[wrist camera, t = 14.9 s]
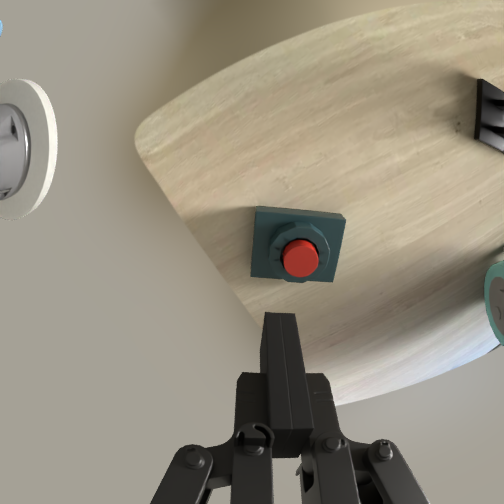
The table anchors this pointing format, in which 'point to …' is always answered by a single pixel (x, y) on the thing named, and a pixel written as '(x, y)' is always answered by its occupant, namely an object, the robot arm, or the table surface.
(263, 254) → the button box
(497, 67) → the table surface
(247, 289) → the table surface
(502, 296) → the alarm clock
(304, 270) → the button
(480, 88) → the bracket
